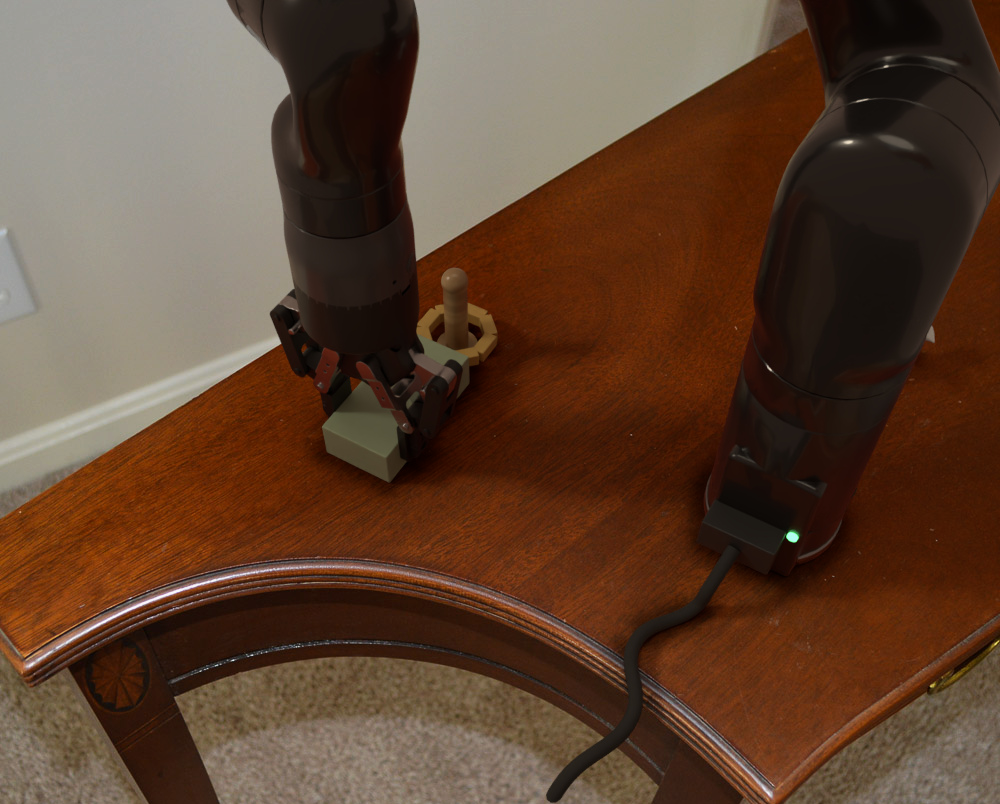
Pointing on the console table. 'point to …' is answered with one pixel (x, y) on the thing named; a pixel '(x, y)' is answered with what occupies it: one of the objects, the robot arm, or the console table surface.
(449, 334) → the left peg
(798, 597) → the console table surface
